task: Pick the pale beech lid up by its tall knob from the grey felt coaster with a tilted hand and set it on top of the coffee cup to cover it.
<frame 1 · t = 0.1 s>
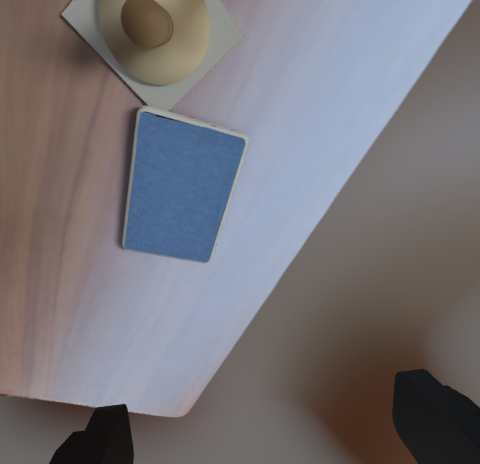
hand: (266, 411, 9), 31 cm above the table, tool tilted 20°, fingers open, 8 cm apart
lid: (156, 25, 29), resting on coaster
tablet computer: (180, 193, 39), on the table, touching coaster
coaster: (157, 26, 29), on the table
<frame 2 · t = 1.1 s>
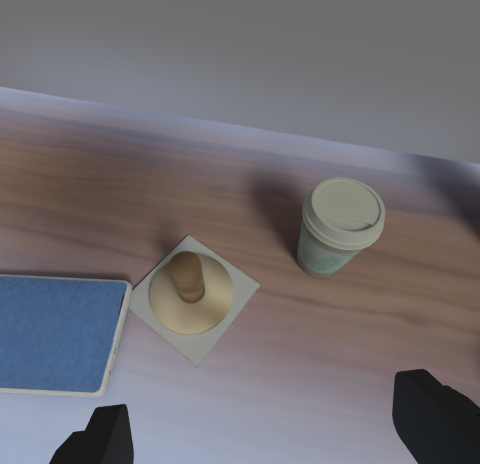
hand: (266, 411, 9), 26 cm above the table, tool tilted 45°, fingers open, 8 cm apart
lid: (192, 293, 37), resting on coaster
tablet computer: (38, 331, 34), on the table, touching coaster
coffee cup: (317, 259, 41), on the table
coaster: (192, 294, 37), on the table
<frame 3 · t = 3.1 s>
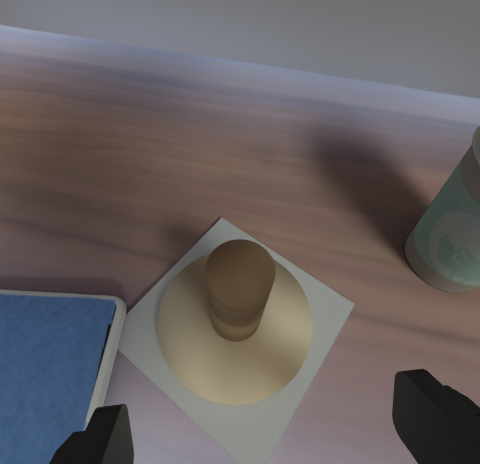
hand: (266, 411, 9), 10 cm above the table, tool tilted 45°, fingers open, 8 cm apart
lid: (235, 319, 20), resting on coaster
coffee cup: (440, 259, 24), on the table
coaster: (235, 321, 21), on the table
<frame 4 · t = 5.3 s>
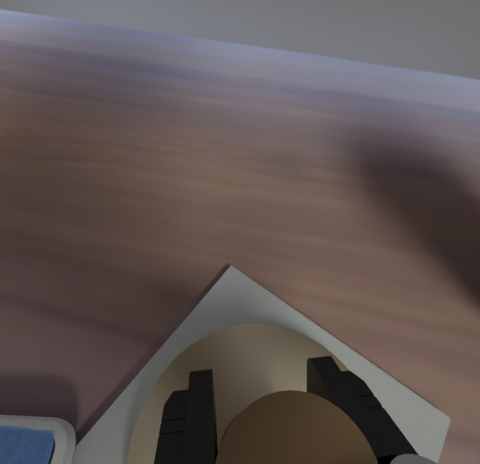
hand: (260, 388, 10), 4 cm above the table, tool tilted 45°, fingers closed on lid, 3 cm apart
lid: (258, 454, 12), resting on coaster, touching gripper
coaster: (257, 453, 12), on the table
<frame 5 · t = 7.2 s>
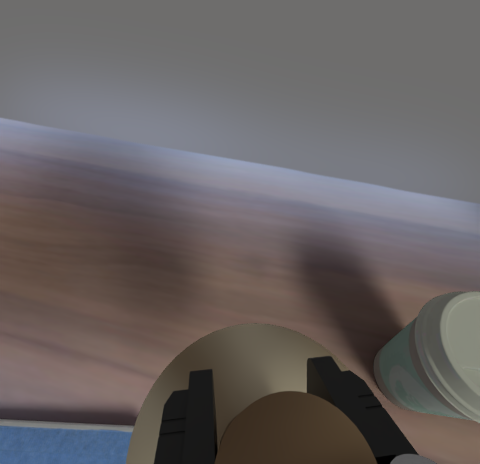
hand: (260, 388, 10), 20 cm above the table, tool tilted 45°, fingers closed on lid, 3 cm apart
lid: (258, 454, 12), point 16 cm above the table, touching gripper
coffee cup: (402, 375, 29), on the table
when the fingers open (17 cm above the table, at t = 9.0 s): lid drops 2 cm, resting on coffee cup.
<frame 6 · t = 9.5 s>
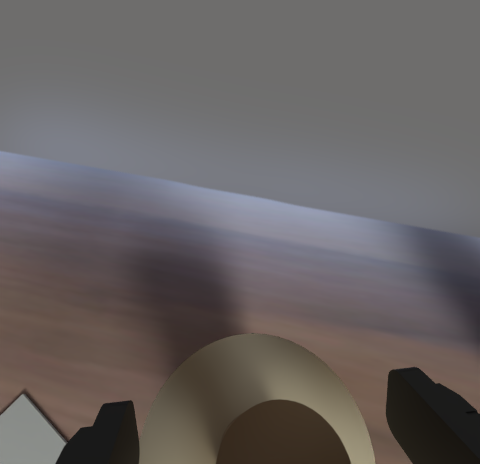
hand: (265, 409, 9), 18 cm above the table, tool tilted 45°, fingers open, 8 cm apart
lid: (255, 453, 13), point 12 cm above the table, touching coffee cup
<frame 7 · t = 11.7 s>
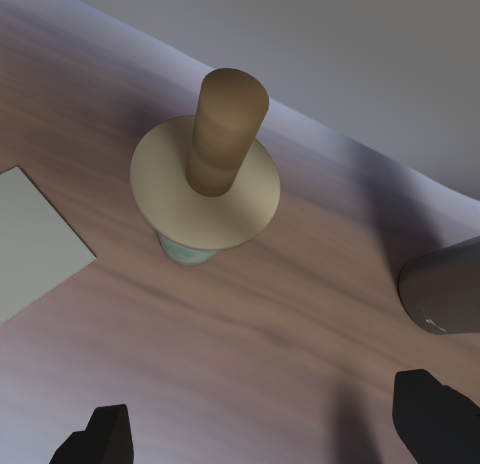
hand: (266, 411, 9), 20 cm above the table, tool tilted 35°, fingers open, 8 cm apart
lid: (207, 181, 21), point 12 cm above the table, touching coffee cup
coffee cup: (188, 240, 32), on the table, touching lid
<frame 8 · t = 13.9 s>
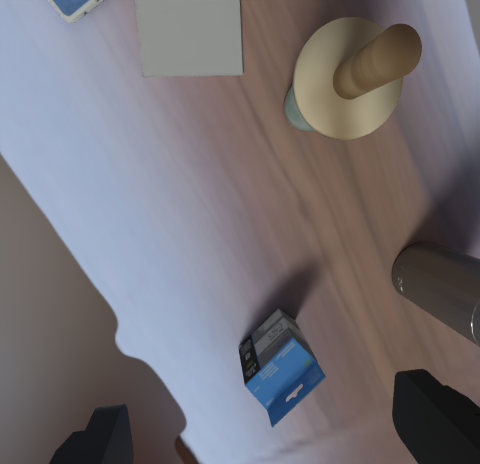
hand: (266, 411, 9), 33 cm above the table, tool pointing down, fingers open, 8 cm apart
lid: (346, 82, 27), point 12 cm above the table, touching coffee cup
coffee cup: (304, 107, 39), on the table, touching lid
coaster: (189, 20, 36), on the table
ink cartridge box: (266, 333, 46), on the table
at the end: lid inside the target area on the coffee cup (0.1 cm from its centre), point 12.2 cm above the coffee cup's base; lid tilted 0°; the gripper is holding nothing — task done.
